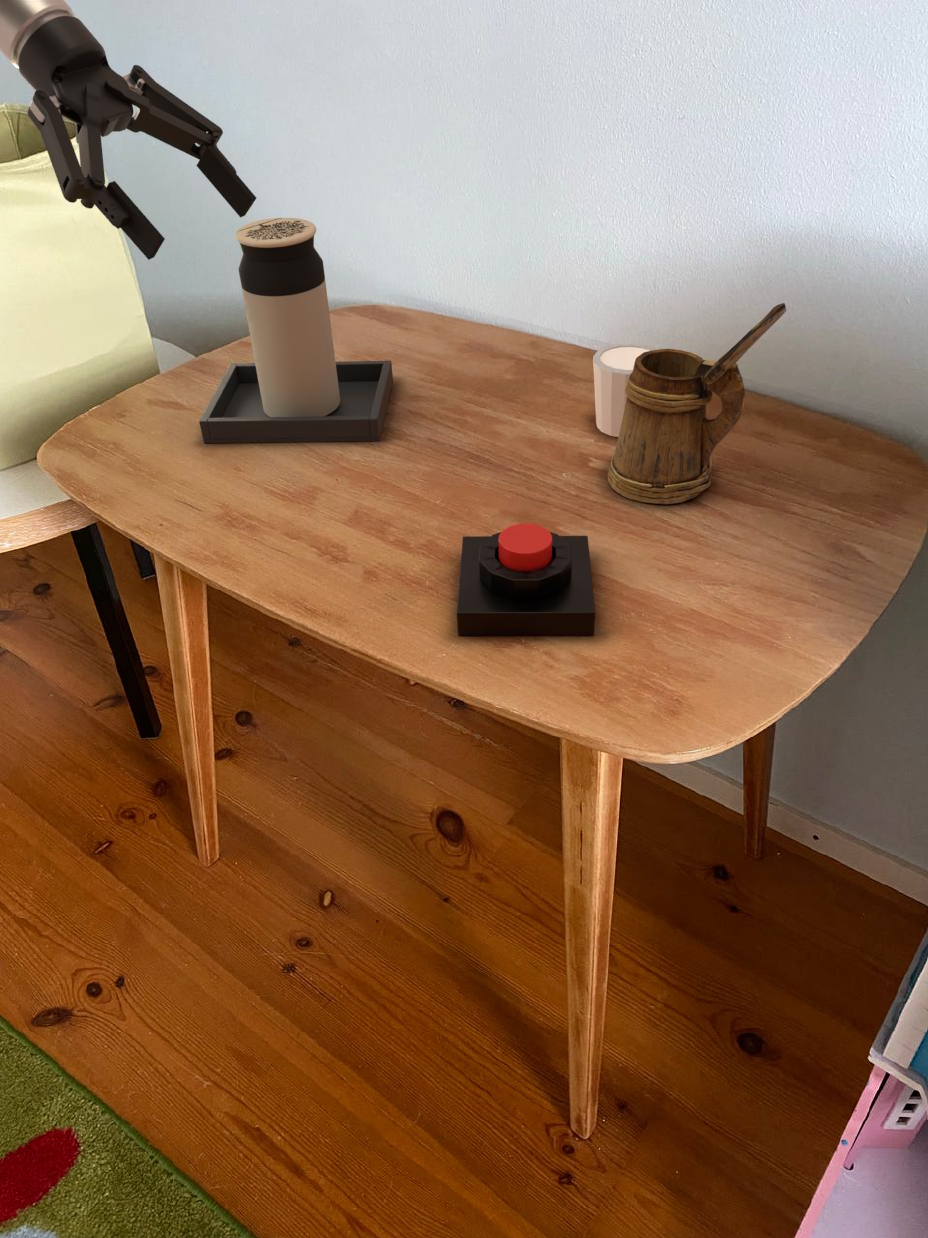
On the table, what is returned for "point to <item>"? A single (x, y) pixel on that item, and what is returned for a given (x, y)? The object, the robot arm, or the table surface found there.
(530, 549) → the button
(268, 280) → the travel mug
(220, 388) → the tray
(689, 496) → the wooden mug
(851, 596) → the table surface
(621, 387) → the white cup
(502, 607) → the control block
